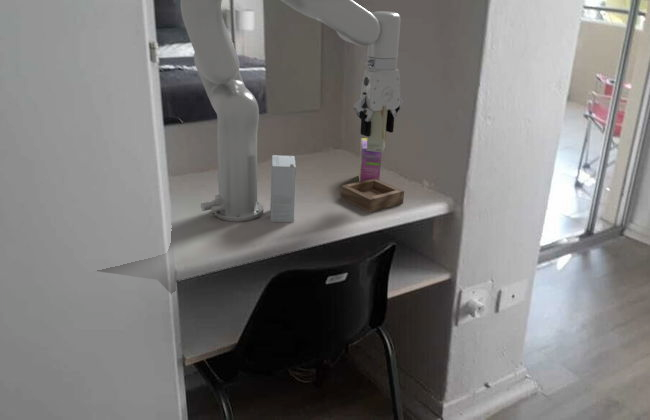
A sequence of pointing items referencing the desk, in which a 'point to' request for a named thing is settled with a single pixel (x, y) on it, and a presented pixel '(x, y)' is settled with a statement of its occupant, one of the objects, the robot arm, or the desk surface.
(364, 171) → the box
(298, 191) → the desk surface
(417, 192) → the desk surface
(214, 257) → the desk surface
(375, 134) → the skincare box
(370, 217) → the desk surface
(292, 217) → the skincare box
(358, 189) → the shallow wooden tray
